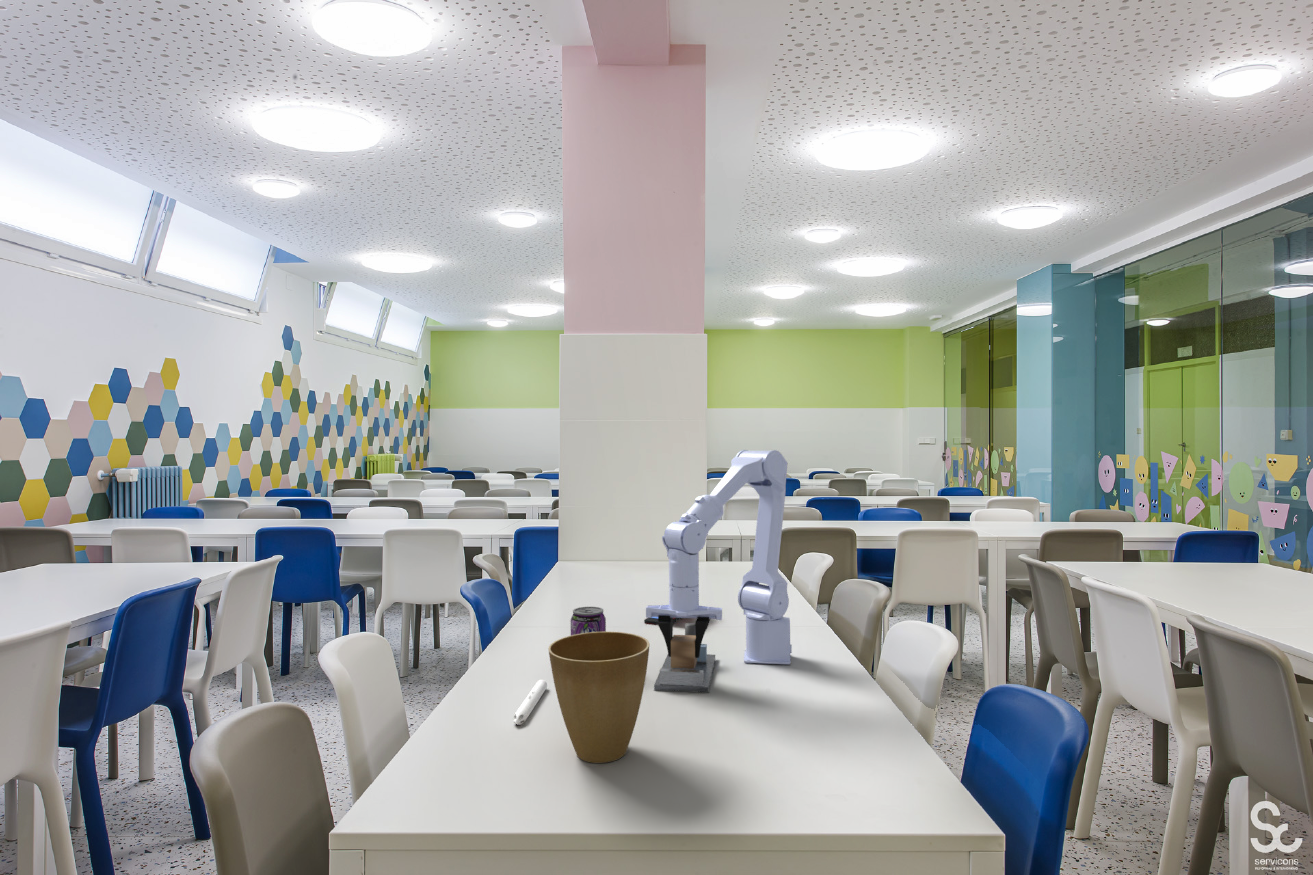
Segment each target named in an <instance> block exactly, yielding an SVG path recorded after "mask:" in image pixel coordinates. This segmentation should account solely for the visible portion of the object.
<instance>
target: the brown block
mask: <svg viewBox="0 0 1313 875" xmlns="http://www.w3.org/2000/svg"><path fill="white" fill-rule="evenodd" d="M695 647H696V636H695V635H685V634H673V637H672V640H671V668H689V669H695V666H696V663H697V658H695Z"/></svg>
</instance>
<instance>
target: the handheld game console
mask: <svg viewBox="0 0 1313 875" xmlns="http://www.w3.org/2000/svg"><path fill="white" fill-rule="evenodd" d="M681 619H682V618H673V625H674V624H676V623H677V621H678V620H681ZM643 622H644V624H645V625H655V626H658V617H651V618H646V617H645V619H644V621H643Z"/></svg>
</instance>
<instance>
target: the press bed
mask: <svg viewBox="0 0 1313 875" xmlns="http://www.w3.org/2000/svg"><path fill="white" fill-rule="evenodd" d="M715 662H716V654H710V653H709V654H708V653H707V660H706V662H700V661H697V663H696V666H695V669H689V668H671V657H669V656H668V654H667V655H666V658H665V660H664V662H663V664H662V667H661V668H660V669H659V673H658V675H657V678H656V680H655V682H654V684H653V691H660V692H661V691H662V692H663V691H664V692H682V693H683V692H686V693H701V694H702V693H704V694H709V691H710V687H711V681H712V677H713V672H714V669H715V664H716V663H715Z"/></svg>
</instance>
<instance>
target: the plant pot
mask: <svg viewBox="0 0 1313 875" xmlns="http://www.w3.org/2000/svg"><path fill="white" fill-rule="evenodd" d="M547 649H548V655H549V661H550V667H551V673H552V679H553V684H554V688H555V693H556V696H557V701H558V704H559V705H558V706H559V709H560V712H561V716H562V718H563V722H564V725H565V727H566V731H567V734H568V736H569V740H570V741H571V744H572V747H573V748H574V752H575V754H576V756H577V757H578V758H579V759H580V760H582V761H584V762H587V763H593V764H602V763H604V764H605V763H611V762H614V761H618V760H619V759H622V757H624V756H625V755H626V753H627V751H628V747H629V745H630V742H631V739H632V736H633V733H634V731H635V727H636V724H637V720H638V717H639V716H638V715H639V711H640V708H641V704H642V698H643V693H644V687H645V683H646V677H647V670H648V662H649V655H650V654H649V652H650V641H649V640H648V639H646V638H645V637H643V636H641V635H639V634H635V633H629V632H621V631H606V632H589V633H582V634H576V635H571V634H570V635H568V636H564V637H561V638H559V639H556V640H555V641H553V642H552V643H551V644H549V646H548V648H547Z"/></svg>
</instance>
